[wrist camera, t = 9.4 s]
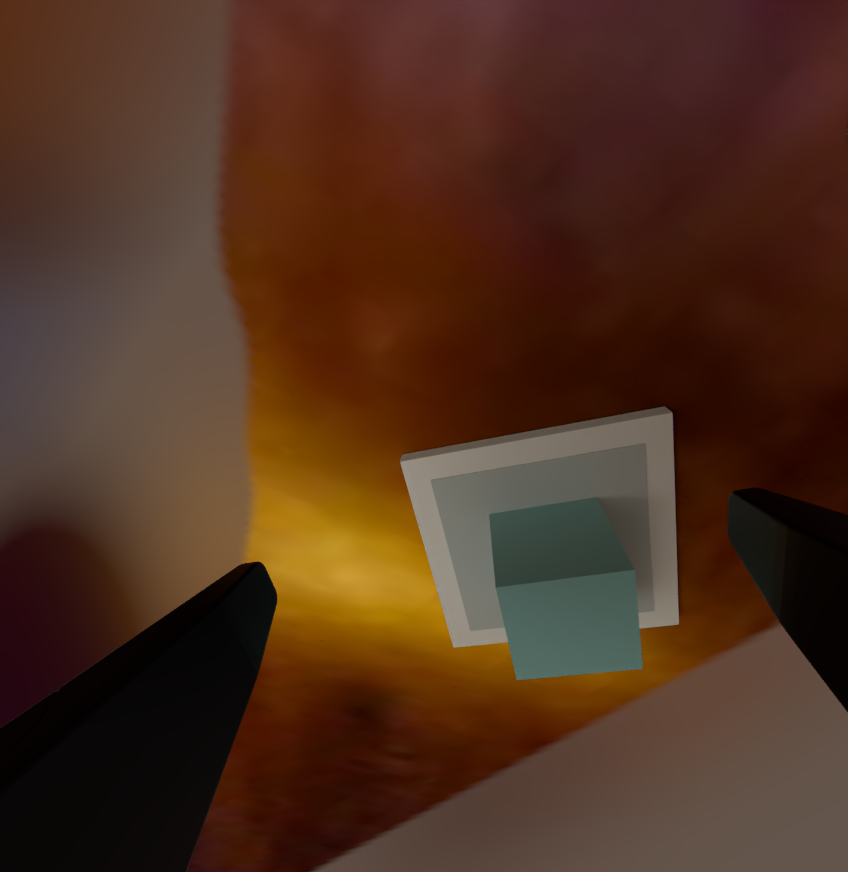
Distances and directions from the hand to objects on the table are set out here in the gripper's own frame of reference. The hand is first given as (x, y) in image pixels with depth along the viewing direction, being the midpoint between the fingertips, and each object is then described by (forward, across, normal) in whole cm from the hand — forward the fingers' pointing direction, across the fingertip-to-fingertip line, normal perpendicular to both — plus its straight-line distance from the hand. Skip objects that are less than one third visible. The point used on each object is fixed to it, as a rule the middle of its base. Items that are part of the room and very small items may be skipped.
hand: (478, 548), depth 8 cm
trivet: (+12, -2, +9) cm, 15 cm away
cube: (+11, -2, +9) cm, 14 cm away
